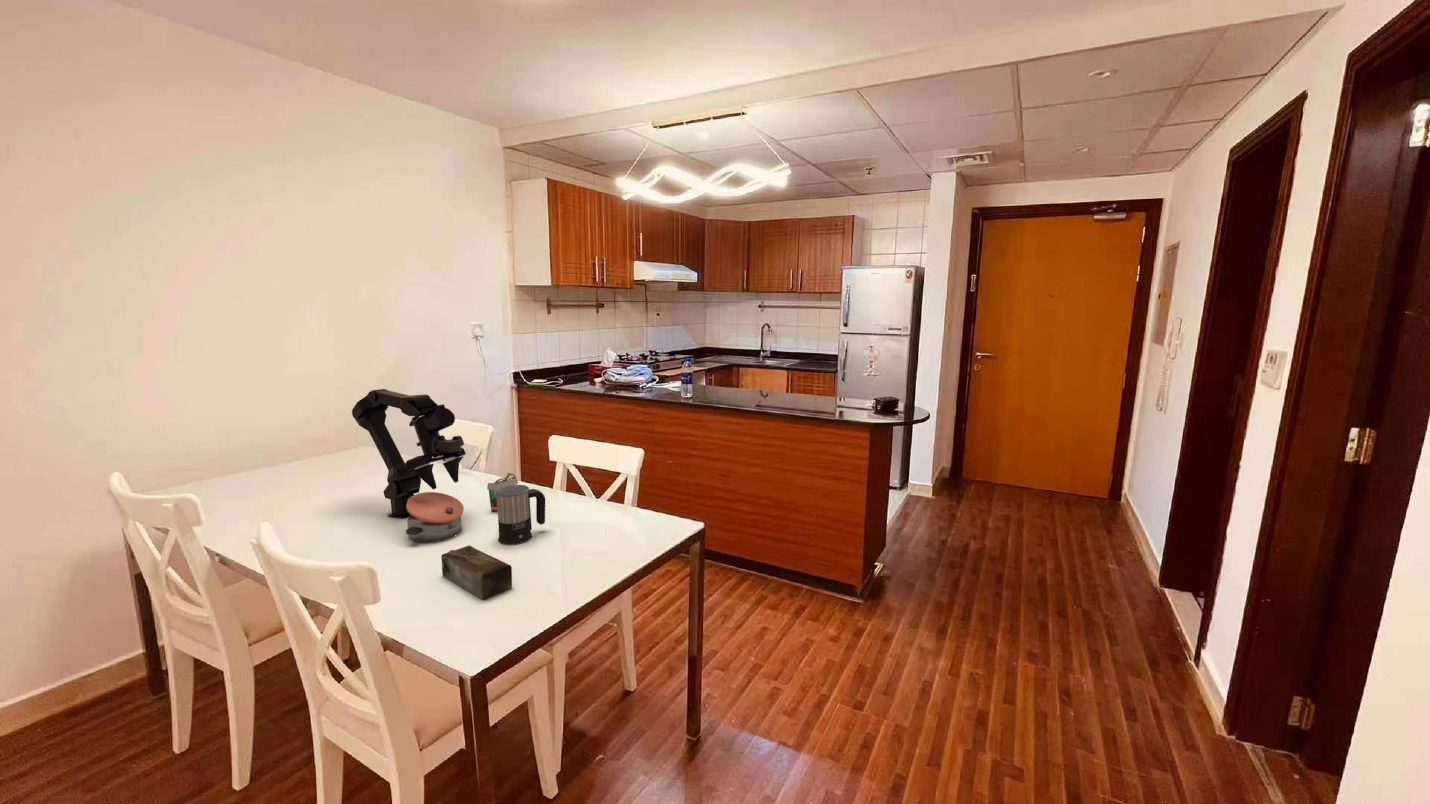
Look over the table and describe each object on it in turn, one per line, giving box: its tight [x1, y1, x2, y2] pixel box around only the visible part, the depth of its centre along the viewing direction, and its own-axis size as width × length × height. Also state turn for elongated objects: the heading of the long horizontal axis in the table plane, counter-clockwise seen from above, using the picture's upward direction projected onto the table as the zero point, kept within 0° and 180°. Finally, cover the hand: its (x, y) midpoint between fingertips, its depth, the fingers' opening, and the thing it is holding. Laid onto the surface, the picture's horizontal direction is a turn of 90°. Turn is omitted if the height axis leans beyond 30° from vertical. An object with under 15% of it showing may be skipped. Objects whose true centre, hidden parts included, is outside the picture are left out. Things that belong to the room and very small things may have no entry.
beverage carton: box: [441, 545, 513, 600], centre depth 137 cm, size 8×19×7 cm, turn 52°
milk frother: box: [495, 484, 546, 546], centre depth 165 cm, size 14×16×15 cm
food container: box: [486, 472, 519, 513], centre depth 186 cm, size 12×6×10 cm, turn 168°
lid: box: [406, 491, 465, 523], centre depth 164 cm, size 15×15×2 cm
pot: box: [405, 515, 463, 544], centre depth 165 cm, size 14×19×5 cm
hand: (445, 485), depth 168 cm, fingers open, 9 cm apart
